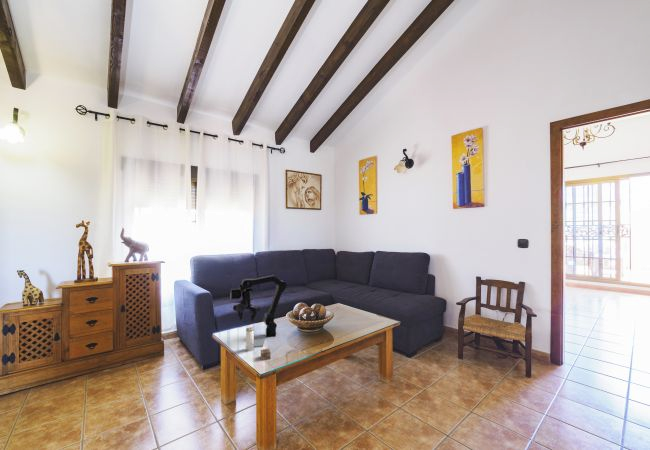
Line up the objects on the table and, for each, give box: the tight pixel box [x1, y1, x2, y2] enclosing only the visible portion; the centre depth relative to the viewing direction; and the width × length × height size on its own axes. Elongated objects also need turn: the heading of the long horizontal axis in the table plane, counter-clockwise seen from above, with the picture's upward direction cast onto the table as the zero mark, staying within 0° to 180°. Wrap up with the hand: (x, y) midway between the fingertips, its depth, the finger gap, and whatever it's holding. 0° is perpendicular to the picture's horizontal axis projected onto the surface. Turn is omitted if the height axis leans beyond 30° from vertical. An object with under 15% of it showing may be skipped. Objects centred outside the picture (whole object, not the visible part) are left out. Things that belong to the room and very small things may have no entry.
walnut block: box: [260, 348, 271, 361], centre depth 162 cm, size 5×5×4 cm
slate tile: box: [254, 338, 266, 348], centre depth 181 cm, size 10×10×1 cm
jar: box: [245, 327, 255, 352], centre depth 173 cm, size 5×5×13 cm
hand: (246, 320), depth 189 cm, fingers open, 9 cm apart
